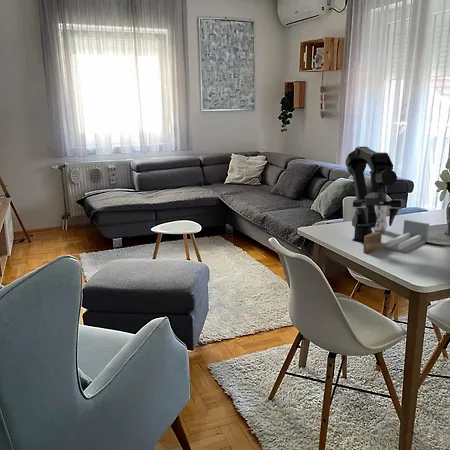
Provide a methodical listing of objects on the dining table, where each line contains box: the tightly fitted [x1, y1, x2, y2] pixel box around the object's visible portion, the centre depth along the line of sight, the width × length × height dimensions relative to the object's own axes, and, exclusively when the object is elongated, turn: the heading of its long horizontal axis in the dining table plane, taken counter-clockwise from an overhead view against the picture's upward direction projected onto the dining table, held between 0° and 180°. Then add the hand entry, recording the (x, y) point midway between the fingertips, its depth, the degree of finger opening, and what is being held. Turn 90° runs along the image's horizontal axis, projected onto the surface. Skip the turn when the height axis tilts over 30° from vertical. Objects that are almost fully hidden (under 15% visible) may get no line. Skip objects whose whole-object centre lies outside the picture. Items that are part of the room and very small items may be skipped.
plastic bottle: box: [372, 194, 390, 233], centre depth 201 cm, size 6×7×20 cm
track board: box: [381, 219, 430, 254], centre depth 182 cm, size 10×20×8 cm, turn 133°
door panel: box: [363, 231, 383, 255], centre depth 175 cm, size 2×10×7 cm, turn 133°
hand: (378, 225), depth 172 cm, fingers open, 9 cm apart
